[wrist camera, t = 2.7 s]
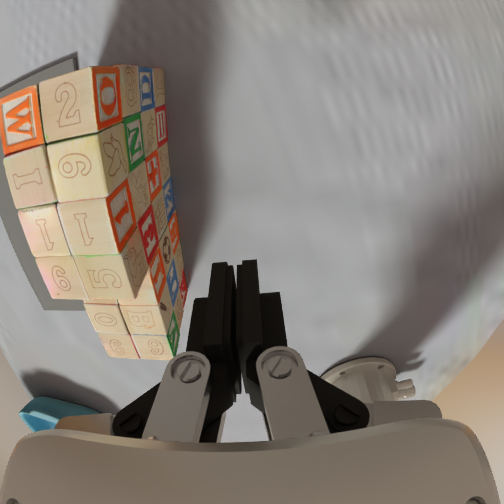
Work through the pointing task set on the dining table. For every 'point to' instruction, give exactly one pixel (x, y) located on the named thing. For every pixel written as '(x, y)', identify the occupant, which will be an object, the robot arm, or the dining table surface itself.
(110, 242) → the stack of blocks
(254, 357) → the robot arm
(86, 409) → the casserole dish
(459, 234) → the dining table surface
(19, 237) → the mat
